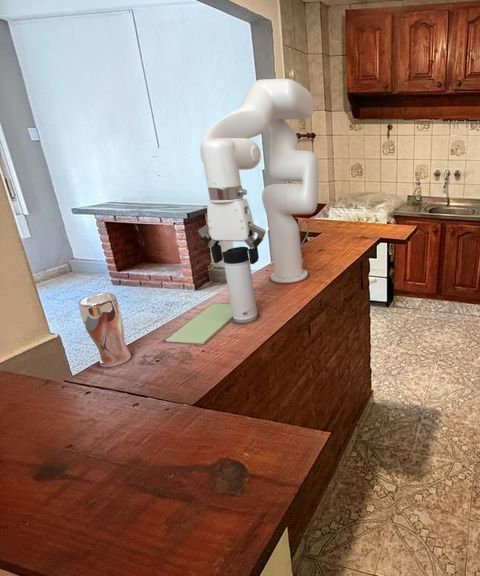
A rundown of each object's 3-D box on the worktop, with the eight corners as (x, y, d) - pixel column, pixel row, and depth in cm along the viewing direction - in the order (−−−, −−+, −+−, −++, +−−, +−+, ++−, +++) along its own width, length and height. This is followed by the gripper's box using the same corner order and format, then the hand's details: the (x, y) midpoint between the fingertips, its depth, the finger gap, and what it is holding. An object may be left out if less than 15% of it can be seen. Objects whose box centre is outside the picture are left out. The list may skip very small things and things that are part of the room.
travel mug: (251, 324, 105) (240, 251, 97) (229, 322, 106) (216, 250, 98) (263, 314, 110) (253, 244, 103) (241, 312, 112) (230, 243, 104)
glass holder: (276, 256, 160) (272, 220, 155) (304, 249, 170) (301, 214, 165) (289, 260, 155) (285, 223, 150) (317, 252, 165) (314, 216, 160)
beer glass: (89, 365, 87) (68, 303, 82) (118, 349, 94) (101, 290, 88) (112, 370, 85) (92, 307, 80) (140, 354, 91) (123, 294, 86)
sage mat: (213, 304, 117) (213, 303, 117) (245, 306, 116) (245, 304, 116) (165, 341, 97) (165, 339, 97) (203, 343, 96) (203, 342, 95)
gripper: (266, 192, 98) (274, 258, 104) (201, 191, 100) (212, 257, 106) (252, 196, 91) (262, 267, 97) (183, 196, 93) (196, 265, 99)
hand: (236, 262), depth 101 cm, fingers open, 9 cm apart
